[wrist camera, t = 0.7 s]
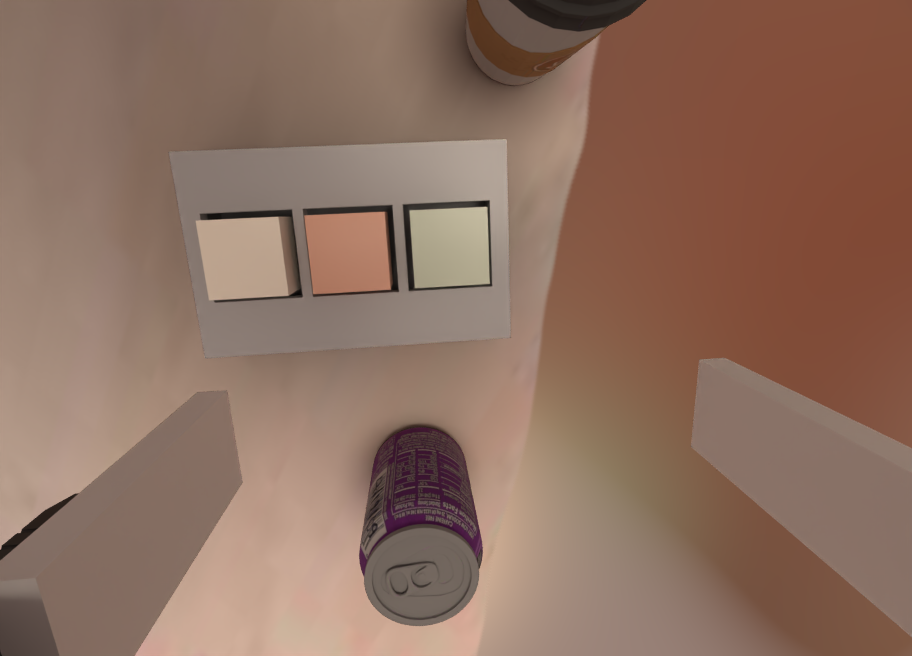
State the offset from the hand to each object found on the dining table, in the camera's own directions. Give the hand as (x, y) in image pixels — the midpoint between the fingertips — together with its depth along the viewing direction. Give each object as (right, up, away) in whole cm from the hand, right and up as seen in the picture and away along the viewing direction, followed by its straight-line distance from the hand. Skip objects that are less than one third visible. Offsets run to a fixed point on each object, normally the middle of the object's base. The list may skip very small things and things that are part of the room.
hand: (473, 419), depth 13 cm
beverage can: (-3, -8, +24) cm, 26 cm away
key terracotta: (-7, +7, +17) cm, 19 cm away
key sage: (-1, +8, +17) cm, 19 cm away
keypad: (-7, +8, +20) cm, 22 cm away
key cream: (-13, +7, +16) cm, 22 cm away
